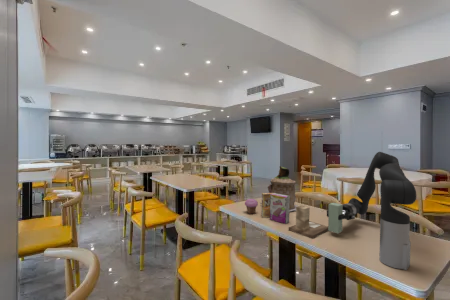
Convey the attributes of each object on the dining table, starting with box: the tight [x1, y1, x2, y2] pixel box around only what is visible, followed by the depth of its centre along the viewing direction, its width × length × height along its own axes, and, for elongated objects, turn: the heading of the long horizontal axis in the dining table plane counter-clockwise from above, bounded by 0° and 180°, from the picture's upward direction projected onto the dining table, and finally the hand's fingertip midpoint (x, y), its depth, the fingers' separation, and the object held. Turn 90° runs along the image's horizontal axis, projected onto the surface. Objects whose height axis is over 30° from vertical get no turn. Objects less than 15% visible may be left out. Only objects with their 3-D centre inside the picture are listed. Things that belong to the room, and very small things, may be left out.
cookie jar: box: [260, 165, 299, 213], centre depth 164 cm, size 25×25×32 cm
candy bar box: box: [269, 193, 290, 225], centre depth 134 cm, size 11×5×16 cm, turn 47°
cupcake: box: [244, 198, 259, 215], centre depth 149 cm, size 9×9×10 cm
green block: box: [327, 202, 343, 234], centre depth 113 cm, size 5×5×14 cm
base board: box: [288, 204, 328, 240], centre depth 120 cm, size 14×19×14 cm
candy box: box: [261, 192, 273, 218], centre depth 143 cm, size 9×4×15 cm, turn 98°
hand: (333, 216), depth 112 cm, fingers closed on green block, 5 cm apart
